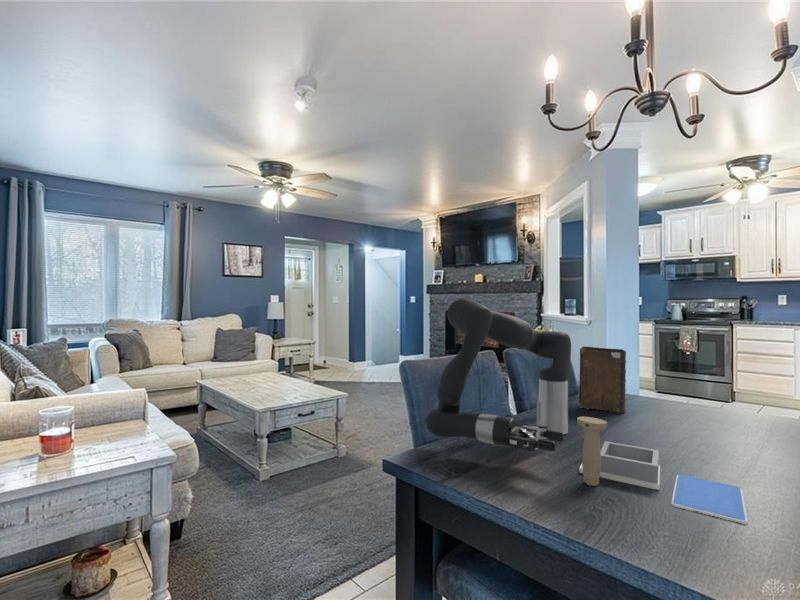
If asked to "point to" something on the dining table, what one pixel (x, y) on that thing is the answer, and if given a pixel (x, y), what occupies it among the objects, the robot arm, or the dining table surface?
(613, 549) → the dining table surface
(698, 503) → the tablet computer
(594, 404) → the book
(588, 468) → the handle
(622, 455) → the open box
